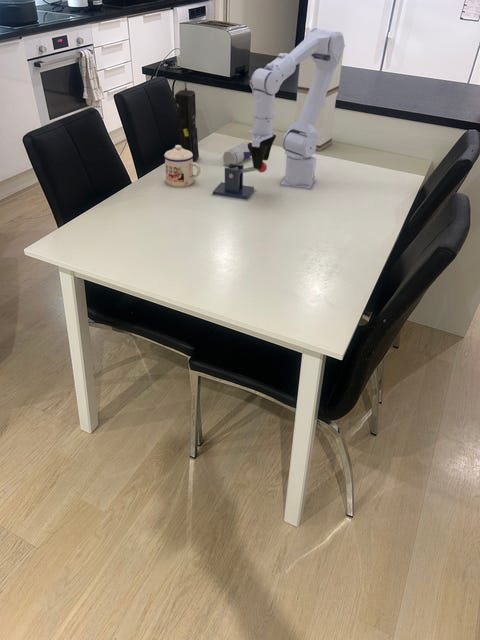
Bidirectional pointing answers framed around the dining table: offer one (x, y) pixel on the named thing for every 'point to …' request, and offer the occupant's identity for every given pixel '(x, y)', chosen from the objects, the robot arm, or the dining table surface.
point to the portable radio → (187, 121)
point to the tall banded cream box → (328, 106)
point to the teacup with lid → (180, 167)
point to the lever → (253, 169)
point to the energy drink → (237, 154)
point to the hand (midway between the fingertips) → (260, 164)
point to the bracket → (233, 184)
